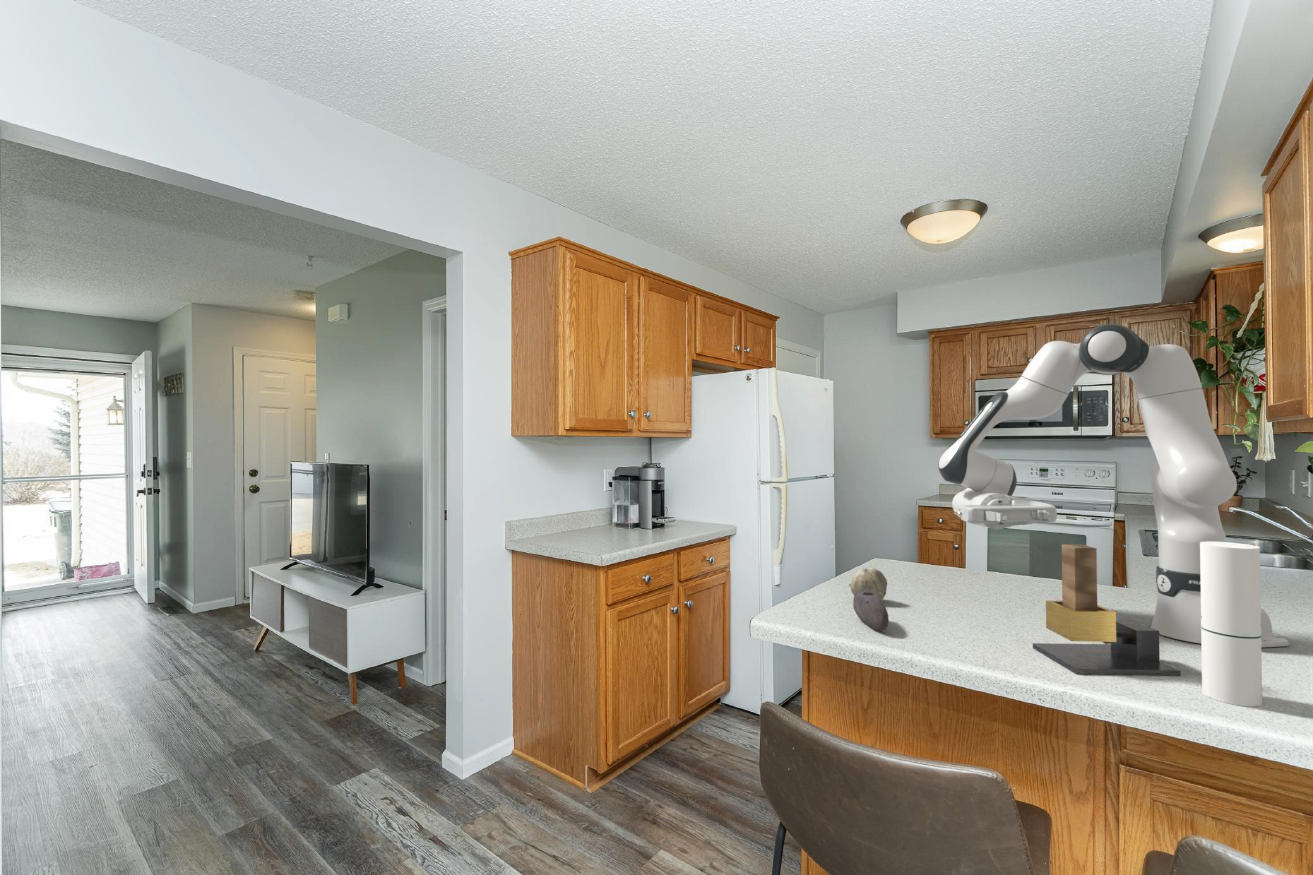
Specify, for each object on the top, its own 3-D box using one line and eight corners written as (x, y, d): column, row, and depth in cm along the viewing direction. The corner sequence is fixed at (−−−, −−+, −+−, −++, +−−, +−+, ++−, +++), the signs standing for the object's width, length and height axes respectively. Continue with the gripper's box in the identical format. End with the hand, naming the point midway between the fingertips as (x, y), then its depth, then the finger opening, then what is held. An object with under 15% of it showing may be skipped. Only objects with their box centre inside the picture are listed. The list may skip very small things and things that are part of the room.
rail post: (1084, 626, 118) (1082, 544, 118) (1098, 632, 114) (1097, 548, 114) (1062, 626, 118) (1061, 544, 118) (1075, 632, 114) (1074, 548, 114)
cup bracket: (1124, 649, 122) (1123, 597, 122) (1180, 676, 108) (1179, 617, 108) (1032, 648, 123) (1032, 596, 123) (1076, 674, 109) (1075, 616, 109)
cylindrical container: (1260, 696, 99) (1257, 544, 99) (1264, 710, 94) (1261, 550, 94) (1201, 684, 104) (1199, 540, 104) (1202, 698, 99) (1200, 545, 99)
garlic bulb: (885, 611, 159) (899, 577, 157) (864, 610, 155) (877, 575, 153) (860, 593, 167) (872, 560, 165) (838, 591, 163) (851, 558, 161)
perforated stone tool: (896, 636, 131) (895, 604, 131) (871, 636, 131) (871, 604, 131) (873, 616, 146) (873, 588, 146) (851, 616, 146) (851, 588, 146)
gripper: (950, 498, 149) (977, 503, 135) (1035, 497, 148) (1071, 502, 134) (951, 524, 149) (978, 532, 135) (1036, 523, 148) (1072, 530, 134)
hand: (1025, 517), depth 135 cm, fingers open, 8 cm apart
